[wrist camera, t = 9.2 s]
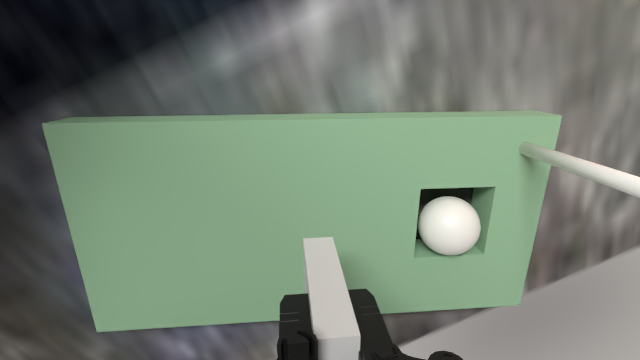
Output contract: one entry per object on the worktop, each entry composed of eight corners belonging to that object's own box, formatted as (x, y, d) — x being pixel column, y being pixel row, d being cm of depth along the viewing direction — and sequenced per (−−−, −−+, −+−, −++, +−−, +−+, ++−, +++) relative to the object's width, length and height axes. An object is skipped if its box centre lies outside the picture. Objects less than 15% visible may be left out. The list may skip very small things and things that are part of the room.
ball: (404, 246, 24) (447, 273, 21) (406, 194, 23) (453, 214, 20) (444, 233, 26) (490, 256, 23) (448, 184, 25) (498, 201, 22)
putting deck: (114, 306, 25) (-42, 522, 13) (69, 117, 20) (-228, 184, 9) (511, 283, 27) (678, 447, 16) (547, 110, 23) (820, 155, 11)
